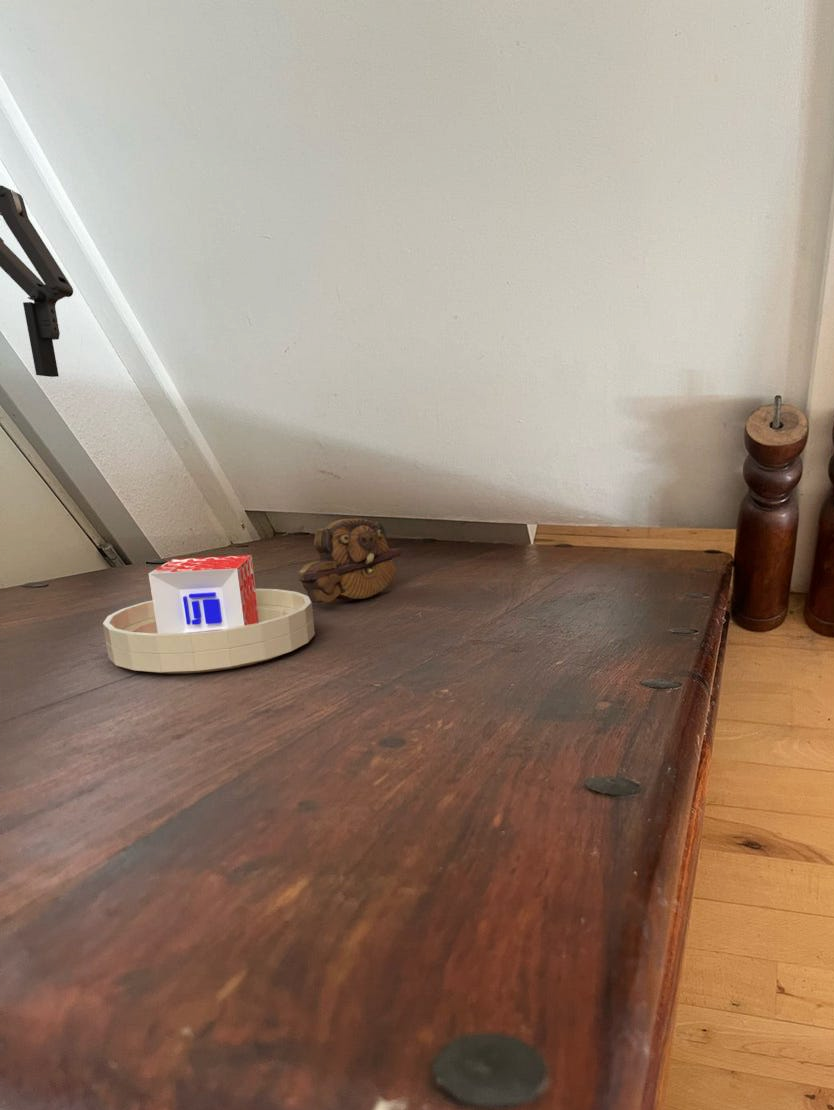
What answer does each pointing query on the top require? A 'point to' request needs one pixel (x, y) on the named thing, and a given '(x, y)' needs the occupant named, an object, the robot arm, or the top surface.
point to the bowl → (209, 637)
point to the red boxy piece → (204, 594)
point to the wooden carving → (349, 562)
